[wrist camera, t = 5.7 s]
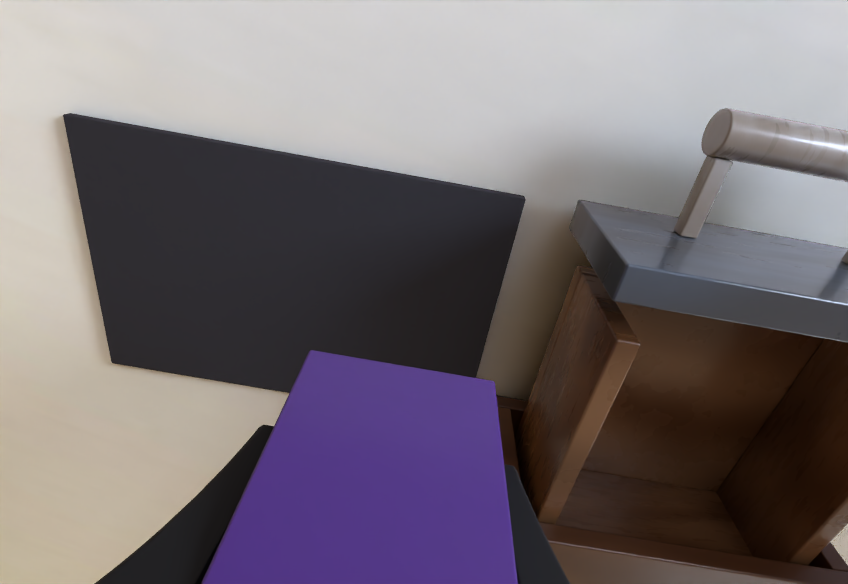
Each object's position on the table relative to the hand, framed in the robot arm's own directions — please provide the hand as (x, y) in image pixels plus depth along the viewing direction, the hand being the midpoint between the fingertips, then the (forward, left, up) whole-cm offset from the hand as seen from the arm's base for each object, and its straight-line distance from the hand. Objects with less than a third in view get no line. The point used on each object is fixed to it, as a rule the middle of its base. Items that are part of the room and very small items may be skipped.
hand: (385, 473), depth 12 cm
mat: (+5, +1, -10) cm, 12 cm away
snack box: (0, 0, -2) cm, 2 cm away
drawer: (-12, 0, -10) cm, 15 cm away
